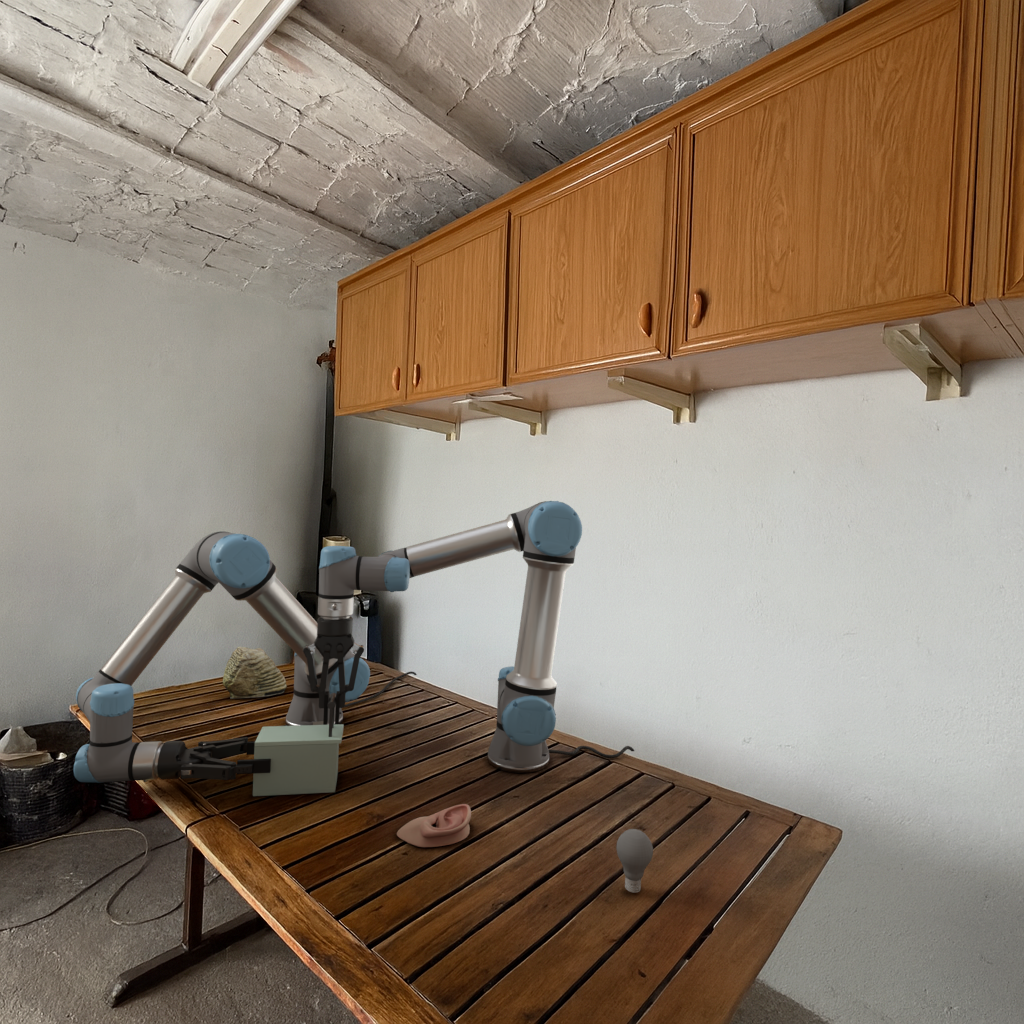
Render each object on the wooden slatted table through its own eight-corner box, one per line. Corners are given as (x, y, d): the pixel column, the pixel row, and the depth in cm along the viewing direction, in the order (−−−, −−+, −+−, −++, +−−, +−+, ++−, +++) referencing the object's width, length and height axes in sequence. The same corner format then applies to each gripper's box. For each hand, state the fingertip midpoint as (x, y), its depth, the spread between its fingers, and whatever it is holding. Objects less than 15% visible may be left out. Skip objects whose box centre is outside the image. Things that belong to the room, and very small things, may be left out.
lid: (343, 727, 145) (345, 690, 145) (341, 743, 136) (342, 703, 136) (262, 730, 142) (263, 691, 141) (254, 746, 132) (256, 705, 132)
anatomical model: (391, 821, 117) (413, 793, 128) (390, 842, 117) (412, 813, 128) (460, 832, 114) (476, 802, 125) (459, 853, 114) (475, 822, 126)
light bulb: (610, 879, 108) (613, 822, 108) (644, 879, 109) (647, 822, 109) (619, 902, 102) (622, 840, 102) (655, 901, 103) (658, 840, 103)
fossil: (218, 695, 195) (220, 647, 195) (278, 685, 208) (279, 640, 207) (228, 703, 189) (230, 653, 188) (289, 692, 201) (290, 645, 201)
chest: (337, 773, 145) (339, 728, 145) (335, 792, 136) (336, 743, 136) (260, 777, 142) (262, 730, 142) (252, 796, 133) (254, 746, 132)
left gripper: (177, 756, 144) (281, 753, 149) (141, 803, 122) (264, 796, 127) (178, 724, 144) (282, 721, 148) (143, 764, 122) (266, 759, 127)
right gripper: (298, 619, 134) (293, 729, 135) (369, 619, 137) (365, 727, 138) (302, 612, 142) (298, 717, 142) (370, 613, 145) (366, 715, 145)
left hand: (274, 756), depth 138 cm, fingers closed on chest, 9 cm apart
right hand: (331, 722), depth 140 cm, fingers closed on lid, 2 cm apart
